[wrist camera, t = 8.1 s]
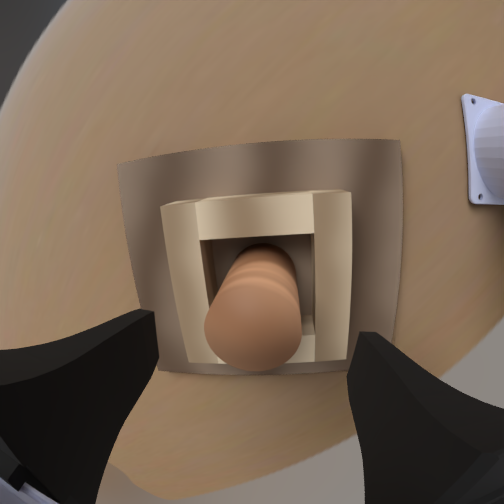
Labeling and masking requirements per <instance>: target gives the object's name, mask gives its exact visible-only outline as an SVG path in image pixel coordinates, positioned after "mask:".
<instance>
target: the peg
mask: <svg viewBox="0 0 504 504" xmlns="http://www.w3.org/2000/svg"><path fill="white" fill-rule="evenodd" d="M204 332H205V337H206V340H207V343H208V345H209V347H210V348H211V350H212V351H213V352H214V353H215V355H216V356H218V357H219V358H220V359H221V360H222V361H224V362H225V363H227V364H229V365H230V366H233V367H235V368H238V369H241V370H246V371H266V370H270V369H273V368H276V367H278V366H280V365H282V364H284V363H285V362H287V361H288V360H289V359H290V358H291V357H292V356H293V355H294V354H295V352H296V351H297V349H298V347H299V345H300V342H301V338H302V325H301V315H300V305H299V296H298V287H297V278H296V270H295V266H294V263H293V261H292V259H291V257H290V256H289V255H288V253H287V252H285V251H284V250H283V249H282V248H280V247H278V246H276V245H273V244H269V243H257V244H253V245H250V246H248V247H246V248H245V249H243V250H242V251H241V252H240V253H239V254H238V255H237V257H236V258H235V260H234V262H233V264H232V266H231V268H230V270H229V272H228V274H227V276H226V277H225V279H224V281H223V283H222V285H221V287H220V289H219V291H218V293H217V295H216V297H215V299H214V301H213V303H212V305H211V307H210V308H209V310H208V313H207V315H206V318H205V322H204Z"/></svg>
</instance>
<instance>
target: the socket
mask: <svg viewBox="0 0 504 504" xmlns="http://www.w3.org/2000/svg"><path fill="white" fill-rule="evenodd" d="M117 170H118V180H119V189H120V197H121V205H122V212H123V219H124V226H125V232H126V238H127V244H128V249H129V255H130V260H131V265H132V270H133V275H134V280H135V284H136V289H137V293H138V298H139V302H140V306H141V309H144V310H150V311H154V313H155V323H156V333H157V341H158V349H159V359H158V362H157V367H158V370H159V371H170V372H182V373H198V374H221V375H281V374H305V373H320V372H333V371H344V370H349V367H350V364H351V361H352V357H353V354H354V350H355V346H356V343H357V339H358V335H359V331H364V332H377V333H378V334H380V335H381V336H383V337H384V338H385V339H386V340H388V341H389V342H390V343H391V342H392V336H393V330H394V323H395V316H396V308H397V300H398V291H399V281H400V269H401V254H402V230H403V185H402V162H401V147H400V140H385V139H311V140H289V141H274V142H261V143H249V144H239V145H230V146H221V147H213V148H205V149H198V150H191V151H184V152H178V153H172V154H166V155H160V156H155V157H149V158H144V159H139V160H134V161H129V162H125V163H120V164H117ZM257 243H269V244H273V245H276V246H278V247H280V248H282V249H283V250H284V251H285V252H287V253H288V255H289V256H290V257H291V259H292V261H293V263H294V266H295V270H296V278H297V287H298V296H299V305H300V315H301V325H302V338H301V342H300V345H299V347H298V349H297V351H296V352H295V354H294V355H293V356H292V357H291V358H290V359H289V360H288V361H287V362H285V363H284V364H282V365H280V366H278V367H276V368H273V369H270V370H266V371H246V370H241V369H238V368H235V367H233V366H230V365H229V364H227V363H225V362H224V361H222V360H221V359H220V358H219V357H218V356H216V355H215V353H214V352H213V351H212V350H211V348H210V347H209V345H208V343H207V340H206V337H205V332H204V322H205V318H206V315H207V313H208V310H209V308H210V307H211V305H212V303H213V301H214V299H215V297H216V295H217V293H218V291H219V289H220V287H221V285H222V283H223V281H224V279H225V277H226V276H227V274H228V272H229V270H230V268H231V266H232V264H233V262H234V260H235V258H236V257H237V255H238V254H239V253H240V252H241V251H242V250H243V249H245V248H246V247H248V246H250V245H253V244H257Z"/></svg>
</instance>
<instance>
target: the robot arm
mask: <svg viewBox="0 0 504 504" xmlns="http://www.w3.org/2000/svg"><path fill="white" fill-rule="evenodd" d="M471 99H472V101H473V104H472V102H471ZM461 101H462V107H463V114H464V122H465V131H466V141H467V154H468V179H469V200H470V202H471V203H474V204H496V205H504V104H503V103H500V102H496V101H493V100H489V99H485V98H482V97H478V96H474V95H470V94H464V95H462V97H461ZM479 194H480V199H478V196H479ZM158 359H159V349H158V341H157V333H156V323H155V313H154V311H150V310H144V309H137V310H134V311H131V312H128V313H126V314H124V315H121V316H119V317H117V318H114V319H112V320H110V321H107V322H105V323H103V324H100V325H98V326H96V327H93V328H91V329H88V330H86V331H83V332H80V333H78V334H75V335H72V336H70V337H67V338H63V339H60V340H57V341H53V342H49V343H45V344H41V345H36V346H30V347H24V348H18V349H8V350H0V504H95V502H96V498H97V494H98V490H99V486H100V483H101V480H102V476H103V473H104V470H105V467H106V464H107V462H108V459H109V456H110V454H111V451H112V448H113V446H114V443H115V441H116V439H117V436H118V434H119V432H120V429H121V428H122V426H123V424H124V422H125V420H126V418H127V417H128V415H129V413H130V412H131V410H132V409H133V407H134V405H135V404H136V402H137V400H138V399H139V397H140V395H141V394H142V392H143V390H144V389H145V387H146V385H147V384H148V382H149V380H150V379H151V376H152V374H153V372H154V370H155V367H156V365H157V362H158ZM347 385H348V395H349V402H350V406H351V410H352V414H353V418H354V422H355V426H356V430H357V435H358V439H359V443H360V447H361V453H362V459H363V468H364V469H363V470H364V486H365V504H504V409H502V408H499V407H496V406H493V405H490V404H488V403H484V402H482V401H480V400H478V399H475V398H473V397H471V396H469V395H466V394H464V393H462V392H460V391H458V390H457V389H455V388H453V387H451V386H450V385H448V384H446V383H444V382H443V381H441V380H439V379H438V378H436V377H435V376H433V375H432V374H431V373H429V372H428V371H426V370H425V369H423V368H422V367H421V366H419V365H418V364H417V363H415V362H414V361H413V360H411V359H410V358H409V357H408V356H406V355H405V354H404V353H403V352H401V351H400V350H399V349H398V348H396V347H395V346H394V345H393V344H391V343H390V342H389V341H388V340H386V339H385V338H384V337H383V336H381V335H380V334H378V333H377V332H364V331H359V335H358V339H357V343H356V346H355V350H354V354H353V357H352V361H351V364H350V367H349V371H348V374H347Z"/></svg>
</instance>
